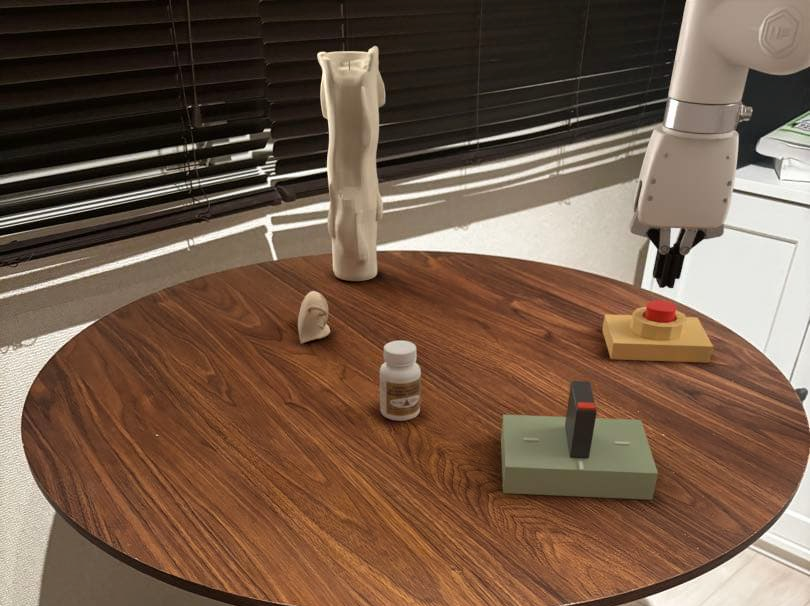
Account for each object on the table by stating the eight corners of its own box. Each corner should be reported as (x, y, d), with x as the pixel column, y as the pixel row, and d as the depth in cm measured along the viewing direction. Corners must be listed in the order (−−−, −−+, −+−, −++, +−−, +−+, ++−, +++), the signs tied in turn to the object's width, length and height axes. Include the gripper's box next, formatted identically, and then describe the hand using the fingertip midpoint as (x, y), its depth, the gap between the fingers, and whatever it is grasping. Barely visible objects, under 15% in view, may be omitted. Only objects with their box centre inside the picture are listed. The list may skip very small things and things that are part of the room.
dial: (564, 425, 81) (571, 378, 78) (582, 426, 81) (590, 379, 78) (569, 457, 76) (577, 408, 73) (589, 458, 76) (597, 409, 73)
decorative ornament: (328, 321, 109) (326, 282, 106) (331, 347, 103) (329, 306, 100) (298, 322, 109) (295, 283, 106) (299, 348, 102) (296, 308, 99)
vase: (392, 270, 125) (391, 44, 107) (371, 289, 119) (365, 52, 100) (342, 263, 127) (332, 41, 109) (318, 281, 121) (303, 48, 103)
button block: (693, 333, 107) (700, 303, 104) (709, 363, 100) (716, 332, 97) (602, 330, 107) (606, 300, 105) (610, 359, 100) (616, 328, 98)
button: (671, 314, 103) (673, 300, 102) (676, 325, 100) (679, 311, 99) (642, 313, 103) (644, 299, 102) (646, 324, 100) (649, 310, 99)
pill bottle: (389, 425, 87) (389, 358, 82) (374, 407, 90) (372, 342, 86) (426, 417, 89) (428, 351, 84) (410, 399, 92) (410, 335, 87)
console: (635, 444, 84) (641, 417, 82) (652, 500, 76) (658, 472, 74) (500, 439, 85) (503, 412, 83) (503, 493, 77) (505, 465, 75)
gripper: (761, 112, 90) (719, 275, 101) (625, 108, 91) (599, 270, 102) (780, 126, 84) (734, 298, 95) (635, 122, 85) (606, 293, 96)
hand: (664, 283), depth 99 cm, fingers closed
